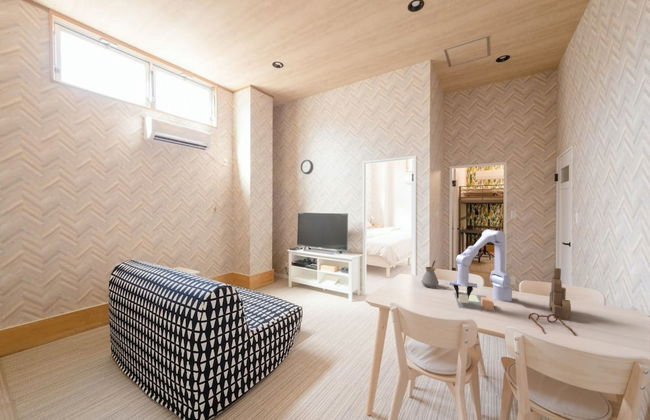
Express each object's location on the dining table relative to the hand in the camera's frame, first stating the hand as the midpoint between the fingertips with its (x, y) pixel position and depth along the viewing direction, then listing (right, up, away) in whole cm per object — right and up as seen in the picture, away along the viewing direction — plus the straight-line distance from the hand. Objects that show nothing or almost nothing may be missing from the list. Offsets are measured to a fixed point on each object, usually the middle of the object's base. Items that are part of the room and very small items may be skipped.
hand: (462, 298), depth 153 cm
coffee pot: (-3, -2, +37) cm, 38 cm away
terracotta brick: (+12, -4, -4) cm, 13 cm away
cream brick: (0, -1, 0) cm, 1 cm away
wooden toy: (+46, -5, -11) cm, 48 cm away
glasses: (+30, -6, -25) cm, 40 cm away
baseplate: (+8, -4, +4) cm, 10 cm away
